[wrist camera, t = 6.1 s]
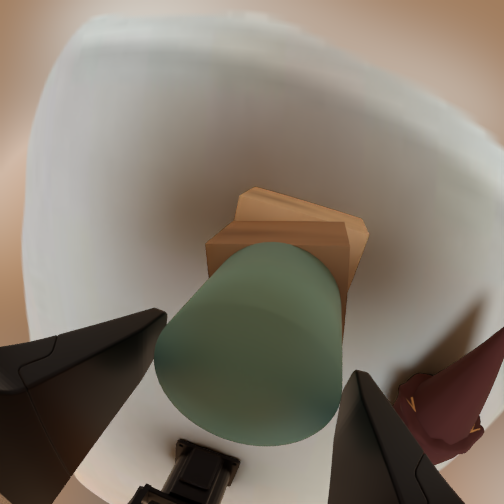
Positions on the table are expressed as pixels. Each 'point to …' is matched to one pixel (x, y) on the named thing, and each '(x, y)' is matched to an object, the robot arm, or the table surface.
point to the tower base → (301, 217)
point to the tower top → (290, 232)
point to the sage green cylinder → (257, 348)
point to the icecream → (451, 401)
